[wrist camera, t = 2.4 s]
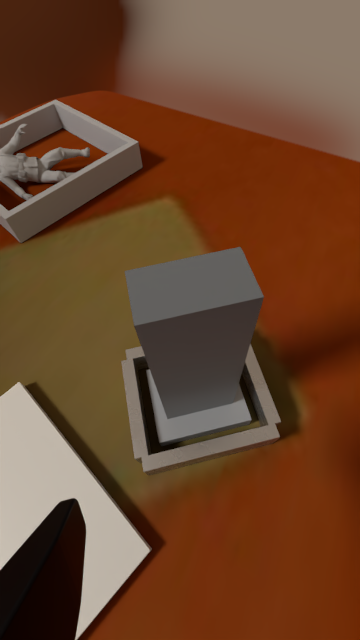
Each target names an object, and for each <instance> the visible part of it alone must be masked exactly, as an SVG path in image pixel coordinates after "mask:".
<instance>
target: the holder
mask: <svg viewBox="0 0 360 640" xmlns="http://www.w3.org/2000/svg"><path fill="white" fill-rule="evenodd" d="M126 356H127V360H125V361H121V362H122V369H123V376H124V384H125V391H126V398H127V406H128V413H129V421H130V428H131V435H132V443H133V450H134V457H135V459H136V460H137V461H138V462H139V463H142V464H143V471H144V472H145V473H146V474H147V475H153V474H156V473H160V472H164V471H168V470H172V469H176V468H180V467H184V466H188V465H191V464H195V463H199V462H203V461H207V460H211V459H215V458H219V457H223V456H226V455H230V454H234V453H238V452H242V451H246V450H250V449H254V448H258V447H262V446H265V445H269V444H273V443H274V442H275V441H276V440H277V439H278V438H280V435H279V433H278V430H277V426H278V425H279V424H280V423H281V420H280V417H279V415H278V412H277V410H276V407H275V405H274V402H273V400H272V397H271V395H270V392H269V390H268V387H267V384H266V382H265V379H264V377H263V374H262V372H261V369H260V367H259V364H258V362H257V359H256V357H255V354H254V352H253V349H252V346H251V344H250V346H249V350H248V353H247V357H246V360H245V364H244V367H243V371H242V375H243V378H244V380H245V383H246V386H247V389H248V392H249V394H250V397H251V400H252V403H253V406H254V408H255V411H256V414H257V417H258V420H259V422H260V425H261V427H259V428H255V429H251V430H247V431H243V432H239V433H235V434H231V435H227V436H223V437H219V438H215V439H211V440H207V441H203V442H199V443H195V444H191V445H187V446H183V447H179V448H175V449H172V450H168V451H164V452H160V453H156V454H152V453H151V447H150V441H149V435H148V429H147V423H146V417H145V411H144V405H143V399H142V392H141V386H140V380H139V374H138V370H140V369H144V368H148V367H149V366H148V363H147V360H146V357H145V355H144V352H143V349H142V346H141V347H136V348H132V349H127V350H126Z"/></svg>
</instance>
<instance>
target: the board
mask: <svg viewBox="0 0 360 640" xmlns="http://www.w3.org/2000/svg"><path fill="white" fill-rule="evenodd" d="M71 498H75V499H77V500H78V502H79V505H80V508H81V511H82V514H83V517H84V520H85V524H86V543H85V557H84V571H83V585H82V597H81V606H80V613H79V619H78V625H77V631H76V638H75V640H78V639H79V637H80V636H81V635H82V634H83V632H84V631H85V630H86V629H87V628H88V626H89V625H90V624H91V623H92V622H93V620H94V619H95V618H96V617H97V615H98V614H99V613H100V612H101V611H102V609H103V608H104V607H105V606H106V605H107V603H108V602H109V601H110V600H111V598H112V597H113V596H114V595H115V594H116V592H117V591H118V590H119V589H120V588H121V586H122V585H123V584H124V583H125V581H126V580H127V579H128V578H129V577H130V575H131V574H132V573H133V572H134V571H135V569H136V568H137V567H138V566H139V564H140V563H141V562H142V561H143V560H144V558H145V557H146V556H147V555H148V554H149V552H150V551H151V550H152V548H151V547H150V546H149V544H148V543H147V542H146V541H145V539H144V538H143V537H142V535H141V534H140V533H139V532H138V530H137V529H136V528H135V526H134V525H133V524H132V523H131V521H130V520H129V519H128V518H127V516H126V515H125V514H124V512H123V511H122V510H121V509H120V507H119V506H118V505H117V503H116V502H115V501H114V500H113V498H112V497H111V496H110V494H109V493H108V492H107V491H106V489H105V488H104V487H103V486H102V484H101V483H100V482H99V480H98V479H97V478H96V477H95V475H94V474H93V473H92V471H91V470H90V469H89V468H88V466H87V465H86V464H85V463H84V461H83V460H82V459H81V457H80V456H79V455H78V454H77V452H76V451H75V450H74V448H73V447H72V446H71V445H70V443H69V442H68V441H67V440H66V438H65V437H64V436H63V434H62V433H61V432H60V431H59V429H58V428H57V427H56V425H55V424H54V423H53V422H52V420H51V419H50V418H49V417H48V415H47V414H46V413H45V411H44V410H43V409H42V408H41V406H40V405H39V404H38V402H37V401H36V400H35V399H34V397H33V396H32V395H31V394H30V392H29V391H28V390H27V388H26V387H25V386H24V385H23V384H21V383H20V382H18V383H17V384H16V385H15V386H13V387H12V388H11V389H10V390H8V391H7V392H6V393H5V394H3V395H2V396H1V397H0V570H1V569H2V567H3V566H4V565H5V564H6V563H7V562H8V560H9V559H10V558H11V557H12V556H13V555H14V554H15V552H16V551H17V550H18V549H19V548H20V547H21V545H22V544H23V543H24V542H25V541H26V540H27V539H28V537H29V536H30V535H31V534H32V533H33V532H34V531H35V529H36V528H37V527H38V526H39V525H40V524H41V522H42V521H43V520H44V519H45V518H46V517H47V516H48V514H49V513H50V512H51V511H52V510H53V509H54V507H55V506H56V505H57V504H58V503H59V502H61V501H63V500H67V499H71Z"/></svg>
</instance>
